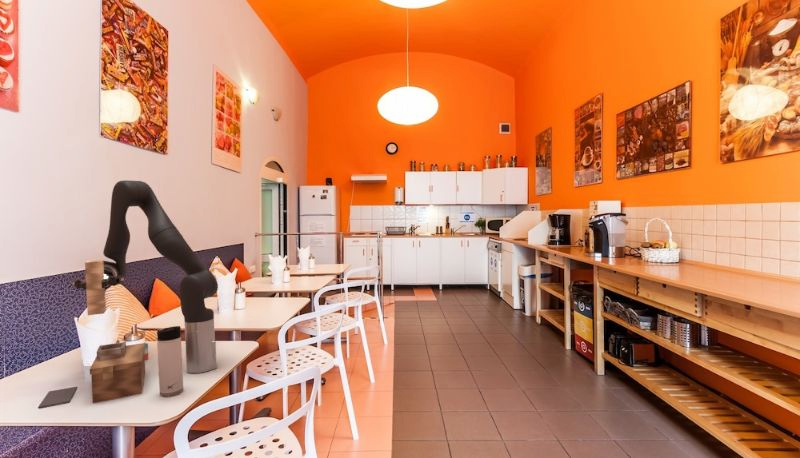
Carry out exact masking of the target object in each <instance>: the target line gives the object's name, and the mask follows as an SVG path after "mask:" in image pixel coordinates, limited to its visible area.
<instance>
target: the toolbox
mask: <svg viewBox="0 0 800 458" xmlns="http://www.w3.org/2000/svg"><path fill="white" fill-rule="evenodd" d="M145 343H146V342H142V343H135V344H130V345H129V344H128V345H127V342H126V341H124V342H123V341H122V342H116V343H110V344H101V345H99V347H98V349H97V351H96V357H95V359H94V361H93V362H92V364H91V366H90V368H89V375H91V393H92V394H91V395H92V404H96V403H100V402H101V403H102V402H106V401H110V400H111V401H112V400H116V399H122V398H127V397H132V396H137V395H142V394H143V389H144V384H145V378H146V377H145V376H146V361H145V353H144V351H145Z"/></svg>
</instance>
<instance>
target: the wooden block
mask: <svg viewBox="0 0 800 458" xmlns="http://www.w3.org/2000/svg"><path fill="white" fill-rule="evenodd" d="M103 261H104V259H99V260H87V261H85V262H84V270H85V271H84V272H85V278H86V289H85V290H86V308H87V309H86V311H87V312H86V313H87V316H93V315H94V316H95V315H102V314H105V312H106V311H107V310H106V309H107V308H106V307H107V306H106V290H105V288H102V283H101V281H102V280H104V264H103Z"/></svg>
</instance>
